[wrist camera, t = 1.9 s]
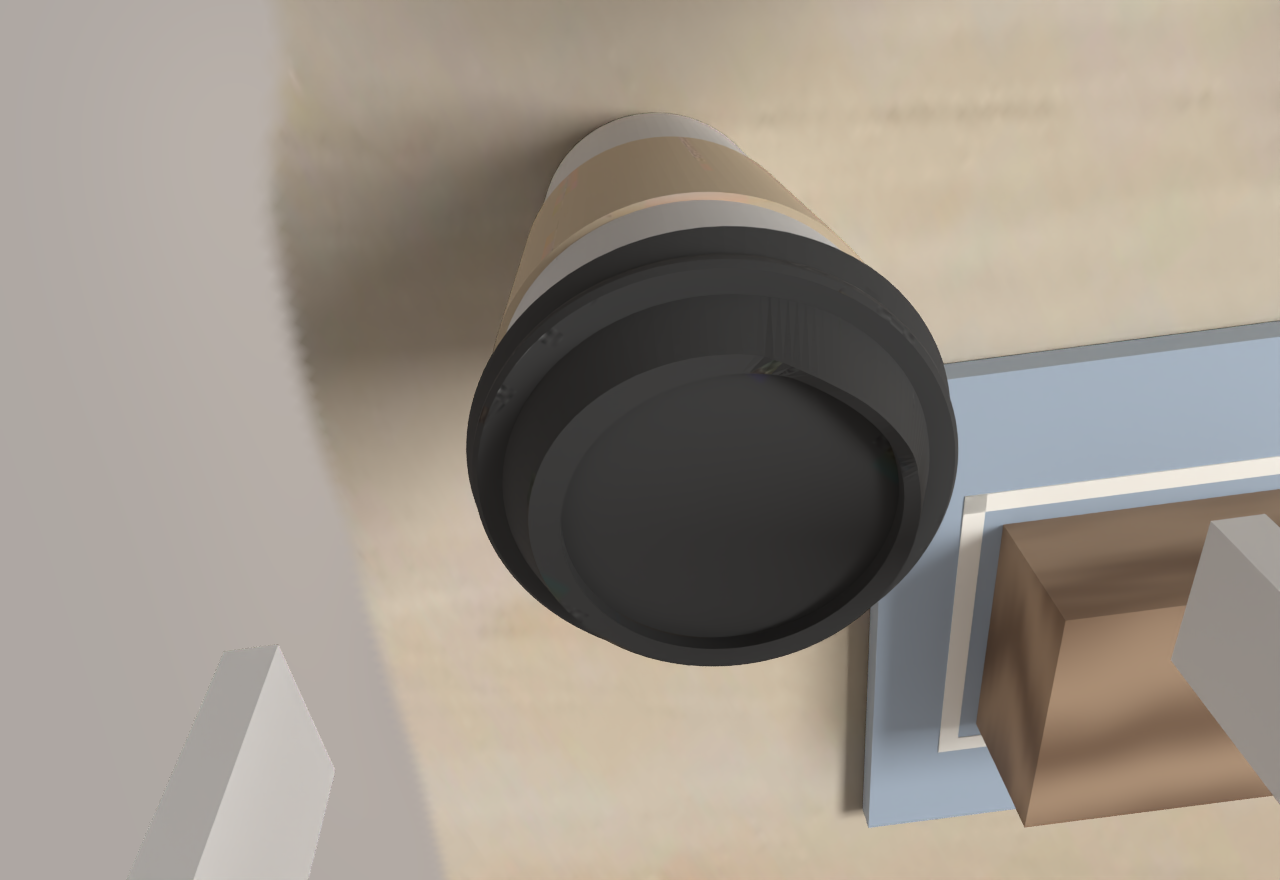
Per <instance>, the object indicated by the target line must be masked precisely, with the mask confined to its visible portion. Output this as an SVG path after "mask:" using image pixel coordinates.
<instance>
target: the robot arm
mask: <svg viewBox="0 0 1280 880" xmlns="http://www.w3.org/2000/svg"><path fill="white" fill-rule="evenodd" d="M1171 661H1172V663H1173V664H1174V665H1175V666H1176V668H1177V669H1178V670H1179V672H1180V673H1181V674H1182V676H1183V677H1184V678H1185V680H1186V681H1187V682H1188V684H1189V685H1190V686H1191V688H1192V689H1193V690H1194V692H1195V693H1196V694H1197V696H1198V697H1199V698H1200V700H1201V701H1202V702H1203V703H1204V705H1205V706H1206V707H1207V709H1208V710H1209V711H1210V713H1211V714H1212V715H1213V717H1214V718H1215V719H1216V721H1217V722H1218V723H1219V725H1220V726H1221V727H1222V729H1223V730H1224V731H1225V733H1226V734H1227V735H1228V736H1229V738H1230V739H1231V740H1232V742H1233V743H1234V744H1235V746H1236V747H1237V748H1238V750H1239V751H1240V752H1241V754H1242V755H1243V756H1244V758H1245V759H1246V760H1247V762H1248V763H1249V764H1250V766H1251V767H1252V768H1253V770H1254V771H1255V772H1256V773H1257V775H1258V776H1259V777H1260V779H1261V780H1262V781H1263V783H1264V784H1265V785H1266V787H1267V788H1268V789H1269V791H1270V792H1271V793H1272V795H1273V796H1274V797H1275V799H1276V800H1277V801H1278V803H1279V804H1280V527H1279V526H1278V525H1277V524H1276V523H1274V522H1273V521H1272V520H1271V519H1270V518H1269V517H1268V516H1267V515H1266V514H1260V515H1252V516H1245V517H1237V518H1230V519H1222V520H1214V521H1211V522H1210V525H1209V529H1208V532H1207V536H1206V539H1205V543H1204V546H1203V550H1202V553H1201V557H1200V560H1199V564H1198V567H1197V571H1196V574H1195V578H1194V581H1193V585H1192V588H1191V591H1190V595H1189V598H1188V602H1187V605H1186V609H1185V612H1184V616H1183V619H1182V623H1181V626H1180V630H1179V633H1178V637H1177V640H1176V644H1175V647H1174V650H1173V654H1172V657H1171ZM334 774H335V768H334V766H333V764H332V762H331V760H330V758H329V756H328V753H327V751H326V749H325V746H324V744H323V742H322V740H321V737H320V735H319V733H318V731H317V729H316V726H315V724H314V722H313V720H312V718H311V715H310V713H309V711H308V709H307V707H306V704H305V702H304V700H303V698H302V696H301V693H300V691H299V689H298V687H297V684H296V682H295V680H294V678H293V676H292V673H291V671H290V669H289V667H288V665H287V662H286V660H285V658H284V656H283V654H282V651H281V649H280V647H279V645H278V644H276V645H268V646H261V647H254V648H245V649H238V650H230V651H224V652H223V655H222V657H221V660H220V662H219V664H218V666H217V669H216V671H215V673H214V676H213V678H212V680H211V683H210V685H209V687H208V690H207V692H206V694H205V697H204V699H203V702H202V704H201V706H200V709H199V711H198V713H197V716H196V718H195V720H194V723H193V725H192V727H191V730H190V732H189V734H188V737H187V739H186V742H185V744H184V746H183V748H182V751H181V753H180V755H179V758H178V760H177V763H176V765H175V767H174V770H173V772H172V774H171V777H170V779H169V781H168V784H167V786H166V789H165V791H164V793H163V795H162V798H161V800H160V802H159V805H158V807H157V810H156V812H155V814H154V817H153V819H152V821H151V824H150V826H149V828H148V831H147V833H146V835H145V838H144V840H143V842H142V845H141V847H140V849H139V852H138V854H137V857H136V859H135V861H134V863H133V866H132V868H131V871H130V873H129V875H128V878H127V880H308V879H309V875H310V871H311V867H312V863H313V859H314V855H315V851H316V847H317V843H318V839H319V835H320V830H321V826H322V823H323V819H324V815H325V811H326V806H327V802H328V798H329V795H330V791H331V786H332V783H333V779H334Z"/></svg>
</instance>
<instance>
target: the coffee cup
mask: <svg viewBox="0 0 1280 880" xmlns="http://www.w3.org/2000/svg"><path fill="white" fill-rule="evenodd" d="M466 453H467V467H468V474H469V480H470V485H471V489H472V493H473V496H474V499H475V503H476V505H477V508H478V512H479V515H480V518H481V521H482V524H483V527H484V529H485V532H486V534H487V536H488V538H489V540H490V542H491V544H492V546H493V548H494V550H495V551H496V553H497V555H498V556H499V558H500V559H501V561H502V562H503V564H504V565H505V566H506V568H507V569H508V570H509V572H510V573H511V574H512V575H513V577H514V578H515V579H516V580H517V581H518V582H519V583H520V584H521V585H522V587H523V588H524V589H525V590H526V591H528V592H529V593H530V594H531V595H532V596H533V597H534V598H535V599H536V600H537V601H539V602H540V603H541V604H542V605H544V606H545V607H546V608H548V609H549V610H550V611H552V612H553V613H555V614H556V615H558V616H559V617H561V618H562V619H564V620H565V621H567V622H569V623H571V624H572V625H574V626H576V627H578V628H580V629H582V630H584V631H586V632H588V633H590V634H592V635H594V636H597V637H599V638H602V639H604V640H607V641H608V642H610V643H612V644H614V645H616V646H619V647H621V648H623V649H625V650H628V651H630V652H633V653H636V654H639V655H642V656H645V657H648V658H652V659H656V660H660V661H665V662H670V663H676V664H683V665H693V666H732V665H742V664H750V663H755V662H761V661H766V660H770V659H774V658H778V657H781V656H785V655H788V654H791V653H794V652H797V651H800V650H802V649H805V648H807V647H810V646H812V645H814V644H816V643H818V642H821V641H822V640H824V639H826V638H828V637H830V636H832V635H834V634H835V633H837V632H839V631H840V630H842V629H843V628H845V627H846V626H848V625H849V624H851V623H852V622H853V621H855V620H856V619H857V618H859V617H860V616H861V615H862V614H864V613H865V612H866V611H867V610H868V609H869V608H870V607H872V606H873V605H874V604H876V603H877V602H878V601H879V600H881V599H882V598H883V597H884V596H886V595H887V594H888V593H889V592H890V591H891V590H892V589H893V588H894V587H895V586H897V585H898V584H899V583H900V581H901V580H902V579H903V578H904V577H905V576H906V575H907V574H908V573H909V572H910V571H911V569H912V568H913V567H914V566H915V564H916V563H917V562H918V561H919V559H920V558H921V556H922V555H923V554H924V552H925V551H926V549H927V548H928V546H929V545H930V543H931V541H932V540H933V538H934V536H935V535H936V533H937V531H938V529H939V527H940V525H941V523H942V521H943V519H944V516H945V514H946V511H947V509H948V506H949V503H950V500H951V497H952V493H953V489H954V485H955V480H956V474H957V466H958V432H957V425H956V419H955V414H954V410H953V406H952V403H951V399H950V393H949V386H948V380H947V375H946V371H945V368H944V364H943V361H942V358H941V355H940V353H939V350H938V348H937V345H936V343H935V341H934V339H933V337H932V335H931V333H930V331H929V329H928V328H927V326H926V324H925V323H924V321H923V320H922V318H921V317H920V315H919V314H918V312H917V311H916V310H915V308H914V307H913V306H912V305H911V304H910V302H909V301H908V300H907V299H906V298H905V297H904V296H903V295H902V294H901V292H900V291H899V290H898V289H896V288H895V287H894V286H893V285H892V284H891V283H890V282H889V281H888V280H886V279H885V278H884V277H883V276H881V275H880V274H879V273H877V272H876V271H875V270H873V269H872V268H871V267H869V266H868V265H866V264H865V263H864V262H863V261H862V260H861V258H860V257H859V256H858V255H857V254H856V253H855V252H854V251H853V250H852V249H851V248H850V247H849V246H848V245H847V244H846V243H845V242H844V241H843V240H842V239H841V238H840V237H839V236H838V235H837V234H835V233H834V232H833V231H832V230H831V229H830V228H829V227H828V226H827V225H826V224H825V223H823V222H822V221H821V220H820V219H819V218H818V217H817V216H816V215H815V214H814V213H813V212H811V211H810V210H809V209H808V208H807V207H806V206H805V205H804V204H803V203H802V202H801V201H799V200H798V199H797V198H796V197H795V196H794V195H793V194H792V193H791V192H790V191H788V190H787V189H786V188H785V187H784V186H783V185H782V184H781V183H780V182H779V181H778V180H776V179H775V178H774V177H773V176H772V175H771V174H770V173H769V172H768V171H767V170H765V169H764V168H763V167H761V166H760V165H759V164H758V163H756V162H754V161H753V160H751V159H750V158H749V157H748V156H747V155H746V154H745V153H744V152H743V151H742V150H741V149H740V148H739V147H738V146H737V145H736V144H734V143H733V142H732V141H731V140H730V139H729V138H727V137H726V136H725V135H724V134H722V133H721V132H719V131H718V130H716V129H715V128H713V127H711V126H709V125H707V124H705V123H703V122H700V121H698V120H695V119H692V118H689V117H686V116H681V115H676V114H669V113H642V114H636V115H631V116H627V117H623V118H620V119H617V120H614V121H612V122H610V123H607V124H605V125H603V126H601V127H599V128H598V129H596V130H594V131H593V132H591V133H590V134H589V135H587V136H586V137H585V138H583V139H582V140H581V141H580V142H579V143H578V144H576V145H575V146H574V147H573V149H572V150H571V151H570V152H569V153H568V154H567V155H566V157H565V158H564V159H563V161H562V162H561V164H560V165H559V167H558V169H557V170H556V172H555V174H554V176H553V178H552V180H551V183H550V185H549V188H548V191H547V195H546V198H545V201H544V204H543V206H542V207H541V209H540V211H539V213H538V214H537V216H536V218H535V221H534V223H533V225H532V227H531V230H530V233H529V236H528V239H527V242H526V245H525V249H524V252H523V255H522V258H521V261H520V265H519V268H518V271H517V274H516V277H515V280H514V284H513V287H512V290H511V293H510V296H509V300H508V303H507V306H506V309H505V312H504V316H503V319H502V322H501V325H500V328H499V331H498V335H497V338H496V341H495V345H494V350H493V354H492V356H491V358H490V359H489V361H488V363H487V365H486V367H485V369H484V371H483V374H482V376H481V378H480V381H479V383H478V386H477V389H476V392H475V395H474V398H473V402H472V406H471V410H470V415H469V421H468V428H467V442H466Z"/></svg>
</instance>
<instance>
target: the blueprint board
mask: <svg viewBox="0 0 1280 880" xmlns="http://www.w3.org/2000/svg"><path fill="white" fill-rule="evenodd" d="M944 368H945V371H946V375H947V380H948V386H949V393H950V399H951V403H952V406H953V410H954V414H955V419H956V425H957V432H958V466H957V474H956V480H955V485H954V489H953V493H952V497H951V500H950V503H949V506H948V509H947V511H946V514H945V516H944V519H943V521H942V523H941V525H940V527H939V529H938V531H937V533H936V535H935V536H934V538H933V540H932V541H931V543H930V545H929V546H928V548H927V549H926V551H925V552H924V554H923V555H922V556H921V558H920V559H919V561H918V562H917V563H916V564H915V566H914V567H913V568H912V569H911V571H910V572H909V573H908V574H907V575H906V576H905V577H904V578H903V579H902V580H901V581H900V583H899V584H898V585H897V586H895V587H894V588H893V589H892V590H891V591H890V592H889V593H888V594H887V595H886V596H884V597H883V598H882V599H881V600H879V601H878V602H877V603H876V604H874V605H873V606H872V607H870V633H869V659H868V685H867V711H866V737H865V763H864V789H863V812H864V815H865V818H866V821H867V824H868V828H870V827H878V826H886V825H894V824H902V823H909V822H917V821H925V820H933V819H941V818H948V817H956V816H964V815H972V814H980V813H987V812H995V811H1003V810H1011V809H1016V808H1015V806H1014V804H1013V802H1012V799H1011V797H1010V795H1009V793H1008V791H1007V789H1006V787H1005V784H1004V782H1003V780H1002V778H1001V776H1000V774H999V772H998V770H997V767H996V765H995V763H994V761H993V759H992V757H991V755H990V753H989V750H988V748H987V746H986V744H985V742H984V740H983V738H982V736H981V733H980V731H979V729H978V727H977V725H976V720H977V713H978V706H979V698H980V691H981V684H982V676H983V669H984V662H985V654H986V647H987V640H988V632H989V625H990V618H991V611H992V603H993V596H994V589H995V581H996V574H997V567H998V559H999V552H1000V545H1001V537H1002V530H1003V525H1004V524H1012V523H1020V522H1027V521H1035V520H1043V519H1051V518H1058V517H1066V516H1074V515H1082V514H1089V513H1097V512H1105V511H1113V510H1121V509H1128V508H1136V507H1144V506H1152V505H1159V504H1167V503H1175V502H1183V501H1190V500H1198V499H1206V498H1214V497H1221V496H1229V495H1237V494H1245V493H1253V492H1260V491H1268V490H1276V489H1280V321H1275V322H1268V323H1260V324H1252V325H1244V326H1237V327H1229V328H1221V329H1213V330H1206V331H1198V332H1190V333H1182V334H1175V335H1167V336H1159V337H1152V338H1144V339H1136V340H1128V341H1121V342H1113V343H1105V344H1097V345H1090V346H1082V347H1074V348H1066V349H1059V350H1051V351H1043V352H1035V353H1028V354H1020V355H1012V356H1004V357H997V358H989V359H981V360H973V361H966V362H958V363H950V364H944Z"/></svg>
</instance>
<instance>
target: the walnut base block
mask: <svg viewBox="0 0 1280 880" xmlns="http://www.w3.org/2000/svg"><path fill="white" fill-rule="evenodd" d="M1260 514H1266V515H1267V516H1268V517H1269V518H1270V519H1271V520H1272V521H1273V522H1274V523H1276V524H1277V525H1278V526H1279V527H1280V489H1276V490H1268V491H1260V492H1253V493H1245V494H1237V495H1229V496H1221V497H1214V498H1206V499H1198V500H1190V501H1183V502H1175V503H1167V504H1159V505H1152V506H1144V507H1136V508H1128V509H1121V510H1113V511H1105V512H1097V513H1089V514H1082V515H1074V516H1066V517H1058V518H1051V519H1043V520H1035V521H1027V522H1020V523H1012V524H1004V525H1003V530H1002V537H1001V545H1000V552H999V559H998V567H997V574H996V581H995V589H994V596H993V603H992V611H991V618H990V625H989V632H988V640H987V647H986V654H985V662H984V669H983V676H982V684H981V691H980V698H979V706H978V713H977V720H976V725H977V727H978V729H979V731H980V733H981V736H982V738H983V740H984V742H985V744H986V746H987V748H988V750H989V753H990V755H991V757H992V759H993V761H994V763H995V765H996V767H997V770H998V772H999V774H1000V776H1001V778H1002V780H1003V782H1004V784H1005V787H1006V789H1007V791H1008V793H1009V795H1010V797H1011V799H1012V802H1013V804H1014V806H1015V808H1016V810H1017V812H1018V814H1019V816H1020V819H1021V821H1022V823H1023V825H1024V827H1031V826H1039V825H1047V824H1055V823H1063V822H1070V821H1078V820H1086V819H1094V818H1102V817H1110V816H1117V815H1125V814H1133V813H1141V812H1149V811H1156V810H1164V809H1172V808H1180V807H1188V806H1195V805H1203V804H1211V803H1219V802H1227V801H1234V800H1242V799H1250V798H1258V797H1266V796H1273V795H1272V793H1271V792H1270V791H1269V789H1268V788H1267V787H1266V785H1265V784H1264V783H1263V781H1262V780H1261V779H1260V777H1259V776H1258V775H1257V773H1256V772H1255V771H1254V770H1253V768H1252V767H1251V766H1250V764H1249V763H1248V762H1247V760H1246V759H1245V758H1244V756H1243V755H1242V754H1241V752H1240V751H1239V750H1238V748H1237V747H1236V746H1235V744H1234V743H1233V742H1232V740H1231V739H1230V738H1229V736H1228V735H1227V734H1226V733H1225V731H1224V730H1223V729H1222V727H1221V726H1220V725H1219V723H1218V722H1217V721H1216V719H1215V718H1214V717H1213V715H1212V714H1211V713H1210V711H1209V710H1208V709H1207V707H1206V706H1205V705H1204V703H1203V702H1202V701H1201V700H1200V698H1199V697H1198V696H1197V694H1196V693H1195V692H1194V690H1193V689H1192V688H1191V686H1190V685H1189V684H1188V682H1187V681H1186V680H1185V678H1184V677H1183V676H1182V674H1181V673H1180V672H1179V670H1178V669H1177V668H1176V666H1175V665H1174V664H1173V663H1172V661H1171V657H1172V654H1173V650H1174V647H1175V644H1176V640H1177V637H1178V633H1179V630H1180V626H1181V623H1182V619H1183V616H1184V612H1185V609H1186V605H1187V602H1188V598H1189V595H1190V591H1191V588H1192V585H1193V581H1194V578H1195V574H1196V571H1197V567H1198V564H1199V560H1200V557H1201V553H1202V550H1203V546H1204V543H1205V539H1206V536H1207V532H1208V529H1209V525H1210V522H1211V521H1214V520H1222V519H1230V518H1237V517H1245V516H1252V515H1260Z"/></svg>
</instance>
